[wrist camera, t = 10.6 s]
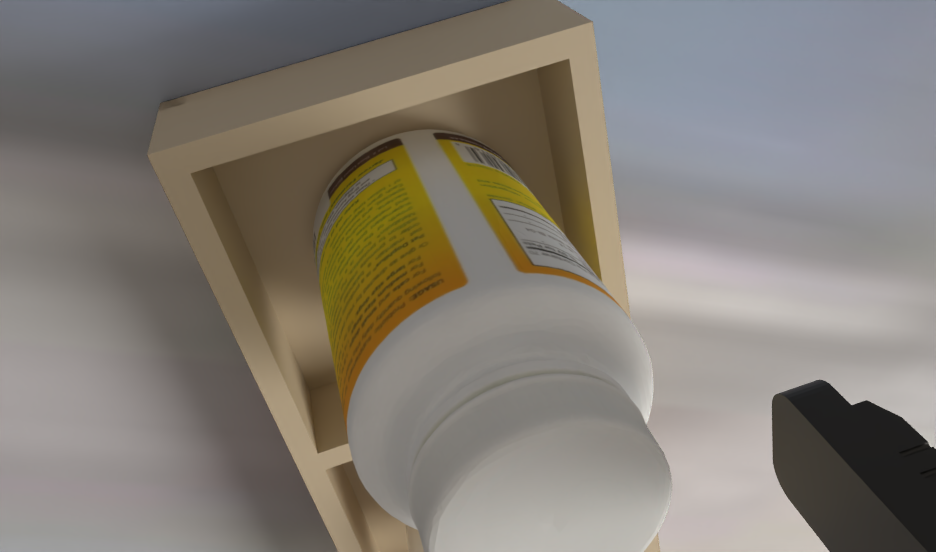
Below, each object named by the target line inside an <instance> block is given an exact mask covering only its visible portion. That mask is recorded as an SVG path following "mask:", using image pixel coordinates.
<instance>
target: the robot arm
mask: <svg viewBox="0 0 936 552" xmlns="http://www.w3.org/2000/svg"><path fill="white" fill-rule="evenodd" d="M772 436H773V464H774V469H775V472H776V475H777V478H778V481H779V483H780V485H781V487H782V489H783V491H784V492H785V494H786V496H787V497H788V499H789V500H790V501H791V503H792V504H793V505H794V506H795V508H796V509H797V510H798V511H799V513H800V514H801V515H802V517H803V518H804V519H805V520H806V522H807V523H808V524H809V526H810V527H811V528H812V529H813V531H814V532H815V533H816V535H817V536H818V537H819V538H820V540H821V541H822V542H823V543H824V545H825V546H826V547H827V549H828V550H829V551H830V552H936V449H935V448H934V447H932V448H931V447H930V446H929V444H928V441H926V440H925V439H924V438H923V437H922V436H921V435H920V434H919V433H918V432H917V431H916V430H915V429H914V428H912V427H911V426H910V425H909V424H908V423H907V422H906V421H905V420H904V419H903V418H902V417H900V416H898V415H896V414H894V413H892V412H890V411H888V410H885V409H883V408H881V407H879V406H877V405H875V404H873V403H871V402H869V401H867V400H866V401H863V402H860V403H857V404H854V405H850V404H849V403H848V402H847V401H846V400H845V399H844V398H843V397H842V396H841V395H840V394H839V393H838V392H837V391H836V390H835V389H834V388H833V387H832V386H831V385H830V384H829V383H827V382H826V381H823V380H816V381H813V382H811V383H808V384H805V385H802V386H799V387H796V388H793V389H790V390H787V391H785V392H782V393H779V394H776V395H775V396H774V397H773V400H772Z"/></svg>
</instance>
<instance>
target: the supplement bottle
mask: <svg viewBox="0 0 936 552" xmlns="http://www.w3.org/2000/svg"><path fill="white" fill-rule="evenodd" d="M313 251H314V259H315V266H316V270H317V276H318V281H319V288H320V293H321V298H322V305H323V309H324V314H325V319H326V325H327V331H328V337H329V342H330V346H331V352H332V358H333V363H334V368H335V373H336V379H337V384H338V389H339V394H340V399H341V405H342V410H343V416H344V421H345V427H346V433H347V438H348V443H349V447H350V451H351V456H352V459H353V462H354V465H355V468H356V471H357V473H358V476H359V478H360V480H361V482H362V483H363V485H364V487H365V489H366V490H367V491H368V492H369V494H370V495H371V496H372V497H373V499H374V500H375V501H376V502H377V503H378V504H379V505H380V506H381V507H382V508H383V509H384V510H385V511H386V512H388V513H389V514H390V515H391V516H393V517H394V518H396V519H398V520H399V521H401V522H402V523H404V524H406V525H408V526H410V527H412V528H414V529H417V530H418V532H419V535H420V539H421V542H422V546H423V550H424V552H644V551H645V550H646V548H647V547H648V546H649V544H650V543H651V542H652V540H653V539H654V537H655V536H656V534H657V533H658V531H659V529H660V528H661V526H662V524H663V522H664V520H665V517H666V514H667V512H668V509H669V505H670V501H671V493H672V479H671V473H670V468H669V465H668V463H667V460H666V458H665V455H664V453H663V451H662V450H661V448H660V447H659V445H658V443H657V442H656V440H655V439H654V437H653V435H652V434H651V432H650V431H649V429H648V428H647V422H648V419H649V415H650V411H651V407H652V400H653V371H652V364H651V359H650V356H649V353H648V351H647V348H646V346H645V344H644V341H643V339H642V337H641V336H640V334H639V332H638V331H637V329H636V327H635V326H634V324H633V322H632V321H631V319H630V318H629V317H628V315H627V314H626V312H625V311H624V310H623V309H622V307H621V306H620V305H619V304H618V302H617V301H616V300H615V298H614V297H613V296H612V295H611V293H610V292H609V291H608V289H607V288H606V287H605V285H604V284H603V282H602V281H601V280H600V279H599V278H598V277H597V275H596V274H595V273H594V272H593V270H592V269H591V268H590V266H589V265H588V264H587V263H586V261H585V260H584V259H583V258H582V256H581V255H580V254H579V252H578V251H577V250H576V249H575V247H574V246H573V245H572V244H571V242H570V241H569V240H568V238H567V237H566V236H565V234H564V233H563V232H562V231H561V229H560V228H559V227H558V226H557V224H556V223H555V222H554V220H553V219H552V218H551V217H550V216H549V214H548V213H547V212H546V210H545V209H544V208H543V207H542V205H541V204H540V203H539V201H538V200H537V199H536V197H535V196H534V195H533V193H532V192H531V191H530V190H529V188H528V187H527V186H526V185H525V184H524V182H523V181H522V180H521V178H520V177H519V176H518V174H517V173H516V172H515V171H514V170H513V168H512V167H511V166H510V165H509V164H508V163H507V162H506V161H505V160H504V159H503V157H502V156H500V155H499V154H498V153H497V152H496V151H494V150H493V149H492V148H490V147H489V146H487V145H485V144H484V143H482V142H480V141H478V140H476V139H474V138H471V137H469V136H466V135H464V134H460V133H456V132H451V131H446V130H434V129H425V130H414V131H407V132H403V133H399V134H395V135H392V136H390V137H387V138H384V139H382V140H379V141H377V142H375V143H373V144H371V145H370V146H368V147H367V148H365V149H363V150H362V151H360V152H359V153H358V154H356V155H355V156H354V157H352V158H351V159H350V160H349V161H348V162H347V163H346V164H345V165H344V166H343V167H342V168H341V169H340V170H339V171H338V172H337V173H336V174H335V176H334V177H333V179H332V180H331V182H330V183H329V185H328V186H327V188H326V190H325V191H324V193H323V195H322V198H321V200H320V202H319V205H318V208H317V211H316V215H315V220H314V227H313Z"/></svg>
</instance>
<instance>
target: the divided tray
mask: <svg viewBox="0 0 936 552" xmlns="http://www.w3.org/2000/svg"><path fill="white" fill-rule="evenodd" d="M425 129H434V130H446V131H451V132H456V133H460V134H464V135H466V136H469V137H471V138H474V139H476V140H478V141H480V142H482V143H484V144H485V145H487V146H489V147H490V148H492V149H493V150H494V151H496V152H497V153H498V154H499V155H500V156H502V157H503V159H504V160H505V161H506V162H507V163H508V164H509V165H510V166H511V167H512V168H513V170H514V171H515V172H516V173H517V174H518V176H519V177H520V178H521V180H522V181H523V182H524V184H525V185H526V186H527V187H528V188H529V190H530V191H531V192H532V193H533V195H534V196H535V197H536V199H537V200H538V201H539V203H540V204H541V205H542V207H543V208H544V209H545V210H546V212H547V213H548V214H549V216H550V217H551V218H552V219H553V220H554V222H555V223H556V224H557V226H558V227H559V228H560V229H561V231H562V232H563V233H564V234H565V236H566V237H567V238H568V240H569V241H570V242H571V244H572V245H573V246H574V247H575V249H576V250H577V251H578V252H579V254H580V255H581V256H582V258H583V259H584V260H585V261H586V263H587V264H588V265H589V266H590V268H591V269H592V270H593V272H594V273H595V274H596V275H597V277H598V278H599V279H600V280H601V281H602V282H603V284H604V285H605V287H606V288H607V289H608V291H609V292H610V293H611V295H612V296H613V297H614V298H615V300H616V301H617V302H618V304H619V305H620V306H621V307H622V309H623V310H624V311H625V312H626V314H627V315H628V317H629V318H630V311H629V303H628V295H627V287H626V280H625V272H624V264H623V256H622V248H621V240H620V232H619V225H618V217H617V209H616V201H615V193H614V185H613V177H612V170H611V162H610V154H609V146H608V138H607V130H606V122H605V115H604V107H603V99H602V91H601V83H600V75H599V67H598V60H597V52H596V44H595V36H594V28H593V22H592V21H591V20H589V19H587V18H586V17H584V16H582V15H581V14H579V13H577V12H576V11H574V10H572V9H571V8H569V7H567V6H566V5H564V4H562V3H561V2H559V1H557V0H510V1H507V2H503V3H500V4H497V5H493V6H490V7H486V8H483V9H480V10H476V11H473V12H469V13H466V14H463V15H459V16H456V17H452V18H449V19H446V20H442V21H439V22H435V23H432V24H429V25H425V26H422V27H418V28H415V29H411V30H408V31H405V32H401V33H398V34H394V35H391V36H388V37H384V38H381V39H377V40H374V41H371V42H367V43H364V44H360V45H357V46H354V47H350V48H347V49H343V50H340V51H337V52H333V53H330V54H326V55H323V56H319V57H316V58H313V59H309V60H306V61H302V62H299V63H296V64H292V65H289V66H285V67H282V68H279V69H275V70H272V71H268V72H265V73H262V74H258V75H255V76H251V77H248V78H245V79H241V80H238V81H234V82H231V83H227V84H224V85H221V86H217V87H214V88H210V89H207V90H204V91H200V92H197V93H193V94H190V95H187V96H183V97H180V98H176V99H173V100H170V101H166V102H163V103H160V106H159V110H158V114H157V118H156V122H155V126H154V130H153V134H152V138H151V142H150V145H149V149H148V153H147V156H148V158H149V160H150V162H151V164H152V166H153V168H154V171H155V173H156V175H157V177H158V179H159V181H160V183H161V185H162V187H163V189H164V191H165V193H166V195H167V198H168V200H169V202H170V204H171V206H172V208H173V210H174V212H175V214H176V216H177V218H178V220H179V222H180V225H181V227H182V229H183V231H184V233H185V235H186V237H187V239H188V241H189V243H190V245H191V247H192V249H193V252H194V254H195V256H196V258H197V260H198V262H199V264H200V266H201V268H202V270H203V272H204V274H205V276H206V278H207V281H208V283H209V285H210V287H211V289H212V291H213V293H214V295H215V297H216V299H217V301H218V303H219V305H220V308H221V310H222V312H223V314H224V316H225V318H226V320H227V322H228V324H229V326H230V328H231V330H232V332H233V335H234V337H235V339H236V341H237V343H238V345H239V347H240V349H241V351H242V353H243V355H244V357H245V359H246V362H247V364H248V366H249V368H250V370H251V372H252V374H253V376H254V378H255V380H256V382H257V384H258V386H259V388H260V391H261V393H262V395H263V397H264V399H265V401H266V403H267V405H268V407H269V409H270V411H271V413H272V415H273V418H274V420H275V422H276V424H277V426H278V428H279V430H280V432H281V434H282V436H283V438H284V440H285V442H286V445H287V447H288V449H289V451H290V453H291V455H292V457H293V459H294V461H295V463H296V465H297V467H298V469H299V472H300V474H301V476H302V478H303V480H304V482H305V484H306V486H307V488H308V490H309V492H310V494H311V496H312V498H313V501H314V503H315V505H316V507H317V509H318V511H319V513H320V515H321V517H322V519H323V521H324V523H325V525H326V528H327V530H328V532H329V534H330V536H331V538H332V540H333V542H334V544H335V546H336V548H337V550H338V552H409V550H408V546H407V539H406V524H404V523H402V522H401V521H399V520H398V519H396V518H394V517H393V516H391V515H390V514H389V513H388V512H386V511H385V510H384V509H383V508H382V507H381V506H380V505H379V504H378V503H377V502H376V501H375V500H374V499H373V497H372V496H371V495H370V494H369V492H368V491H367V490H366V489H365V487H364V485H363V483H362V482H361V480H360V478H359V476H358V473H357V471H356V468H355V465H354V462H353V459H352V456H351V451H350V447H349V443H348V438H347V433H346V427H345V421H344V416H343V410H342V405H341V399H340V394H339V389H338V384H337V379H336V373H335V368H334V363H333V358H332V352H331V346H330V342H329V337H328V331H327V325H326V319H325V314H324V309H323V305H322V298H321V293H320V288H319V281H318V276H317V270H316V266H315V259H314V251H313V227H314V220H315V215H316V211H317V208H318V205H319V202H320V200H321V198H322V195H323V193H324V191H325V190H326V188H327V186H328V185H329V183H330V182H331V180H332V179H333V177H334V176H335V174H336V173H337V172H338V171H339V170H340V169H341V168H342V167H343V166H344V165H345V164H346V163H347V162H348V161H349V160H350V159H351V158H352V157H354V156H355V155H356V154H358V153H359V152H360V151H362V150H363V149H365V148H367V147H368V146H370V145H371V144H373V143H375V142H377V141H379V140H382V139H384V138H387V137H390V136H392V135H395V134H399V133H403V132H407V131H414V130H425ZM644 552H660V547H659V539H658V533H657V534H656V536H655V537H654V539H653V540H652V542H651V543H650V544H649V546H648V547H647V548H646V550H645V551H644Z"/></svg>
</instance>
